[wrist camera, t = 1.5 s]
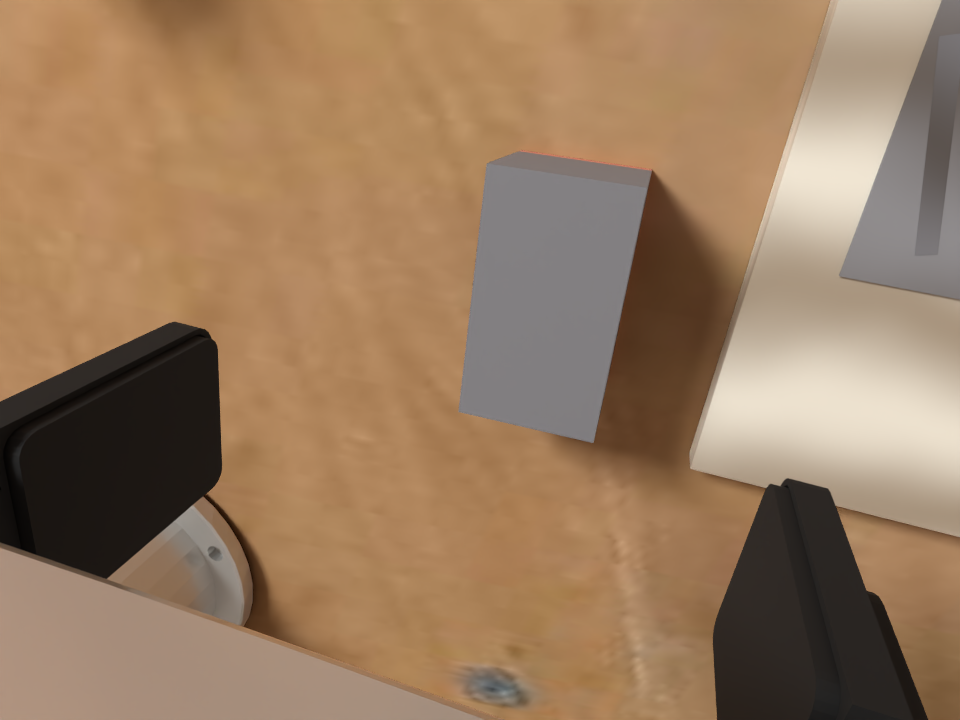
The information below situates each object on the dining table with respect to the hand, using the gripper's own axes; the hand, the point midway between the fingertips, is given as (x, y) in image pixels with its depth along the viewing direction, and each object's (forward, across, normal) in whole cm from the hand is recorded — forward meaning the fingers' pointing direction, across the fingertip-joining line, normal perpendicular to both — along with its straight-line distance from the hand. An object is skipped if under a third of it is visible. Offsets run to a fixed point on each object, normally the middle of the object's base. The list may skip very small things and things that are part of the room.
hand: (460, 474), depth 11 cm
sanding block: (+15, 0, 0) cm, 15 cm away
